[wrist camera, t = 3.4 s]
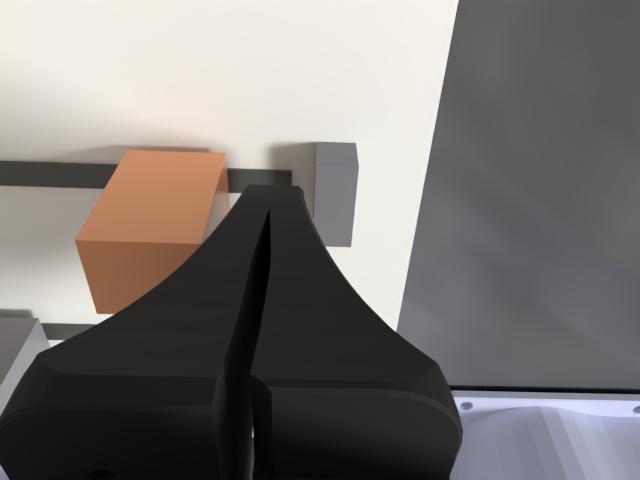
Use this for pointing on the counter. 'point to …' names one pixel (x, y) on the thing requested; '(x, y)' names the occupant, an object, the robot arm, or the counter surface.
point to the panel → (216, 125)
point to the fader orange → (150, 222)
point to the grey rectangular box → (18, 351)
